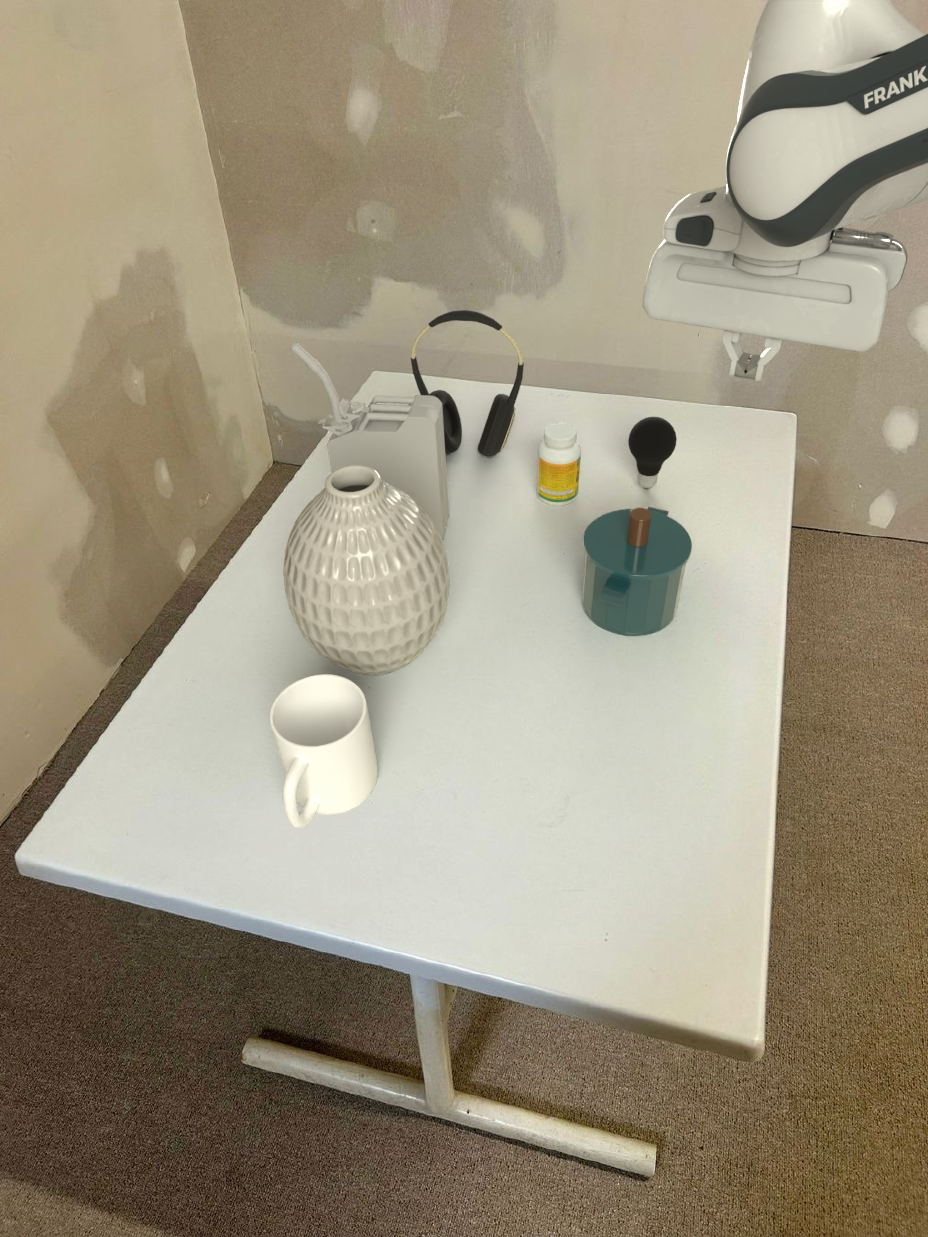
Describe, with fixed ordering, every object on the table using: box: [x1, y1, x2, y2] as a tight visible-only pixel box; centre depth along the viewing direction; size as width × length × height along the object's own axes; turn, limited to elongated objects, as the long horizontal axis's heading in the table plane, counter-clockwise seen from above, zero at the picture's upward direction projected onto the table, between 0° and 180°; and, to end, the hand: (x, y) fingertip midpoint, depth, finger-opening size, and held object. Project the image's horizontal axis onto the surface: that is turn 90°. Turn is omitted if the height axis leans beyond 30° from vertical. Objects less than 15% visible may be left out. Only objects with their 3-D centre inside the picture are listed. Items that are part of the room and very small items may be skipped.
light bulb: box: [627, 416, 678, 490], centre depth 109 cm, size 6×6×10 cm
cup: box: [269, 673, 379, 829], centre depth 76 cm, size 8×12×10 cm
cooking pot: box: [581, 506, 687, 637], centre depth 94 cm, size 10×16×8 cm, turn 154°
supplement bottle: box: [536, 421, 582, 507], centre depth 109 cm, size 5×5×10 cm
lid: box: [582, 507, 693, 580], centre depth 90 cm, size 11×11×5 cm
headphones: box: [410, 309, 525, 458], centre depth 113 cm, size 9×15×20 cm, turn 79°
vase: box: [282, 465, 451, 676], centre depth 85 cm, size 16×16×22 cm
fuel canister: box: [289, 341, 450, 541], centre depth 100 cm, size 15×5×25 cm, turn 82°
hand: (746, 376), depth 80 cm, fingers closed
